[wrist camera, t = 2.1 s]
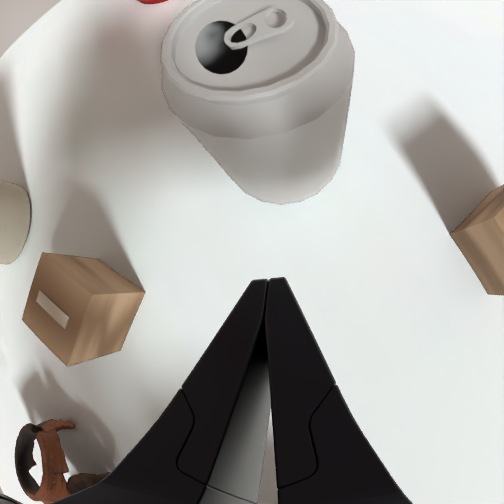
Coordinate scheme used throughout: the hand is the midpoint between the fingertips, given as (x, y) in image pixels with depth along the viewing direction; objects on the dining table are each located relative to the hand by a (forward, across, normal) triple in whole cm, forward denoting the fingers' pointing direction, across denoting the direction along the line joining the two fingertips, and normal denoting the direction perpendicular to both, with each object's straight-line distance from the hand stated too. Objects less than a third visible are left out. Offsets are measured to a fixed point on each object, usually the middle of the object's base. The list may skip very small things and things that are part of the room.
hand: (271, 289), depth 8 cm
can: (+14, 0, +3) cm, 15 cm away
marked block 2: (+8, +14, +9) cm, 18 cm away
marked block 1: (+9, -14, +8) cm, 18 cm away
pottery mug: (-3, +19, +19) cm, 27 cm away
